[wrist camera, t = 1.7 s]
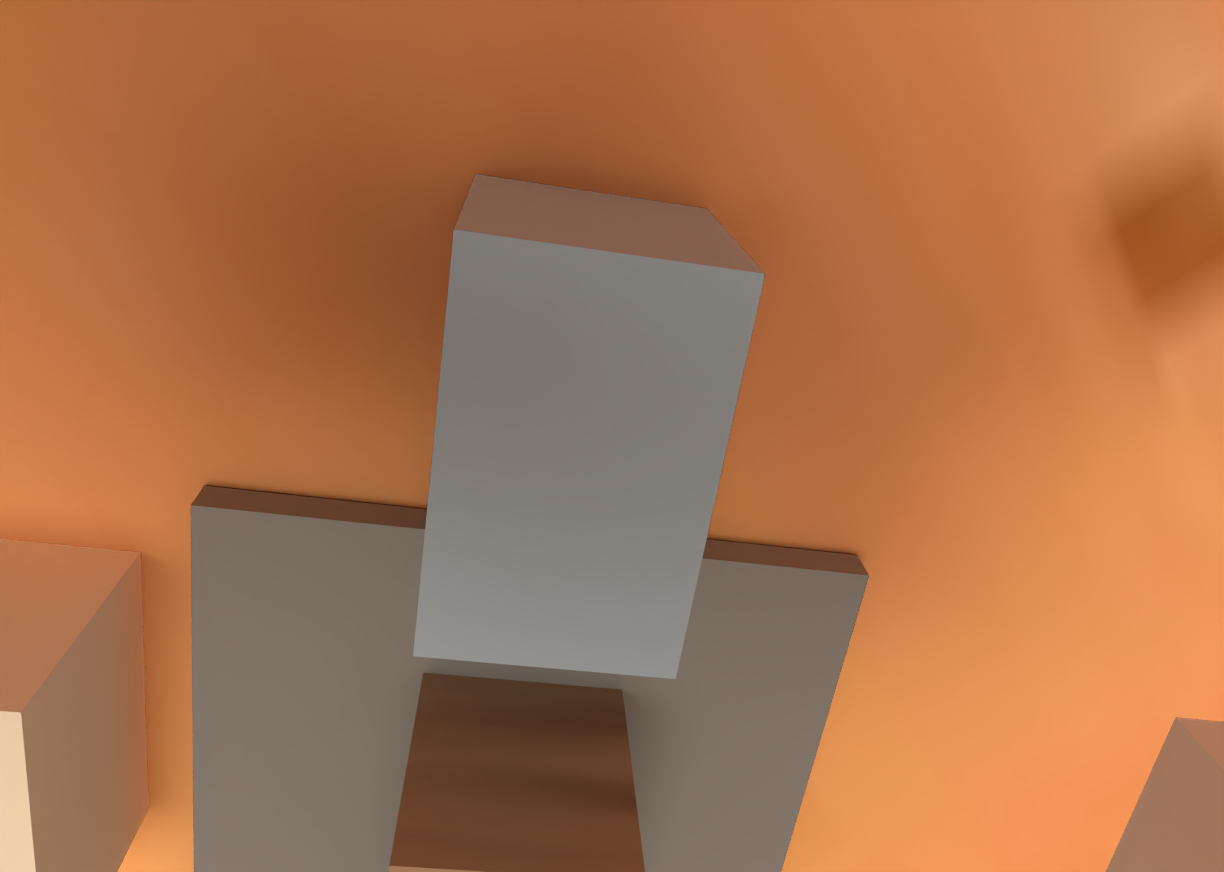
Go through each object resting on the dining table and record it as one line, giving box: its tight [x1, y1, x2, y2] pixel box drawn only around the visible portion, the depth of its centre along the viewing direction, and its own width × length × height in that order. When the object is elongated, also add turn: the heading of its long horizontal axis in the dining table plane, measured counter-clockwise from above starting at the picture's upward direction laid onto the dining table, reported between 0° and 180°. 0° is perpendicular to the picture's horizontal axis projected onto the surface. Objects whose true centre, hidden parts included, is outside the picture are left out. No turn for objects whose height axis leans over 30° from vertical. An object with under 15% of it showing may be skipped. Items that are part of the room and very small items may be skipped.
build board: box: [191, 486, 869, 872], centre depth 26 cm, size 16×16×1 cm
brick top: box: [413, 174, 765, 679], centre depth 20 cm, size 8×5×6 cm, turn 171°
